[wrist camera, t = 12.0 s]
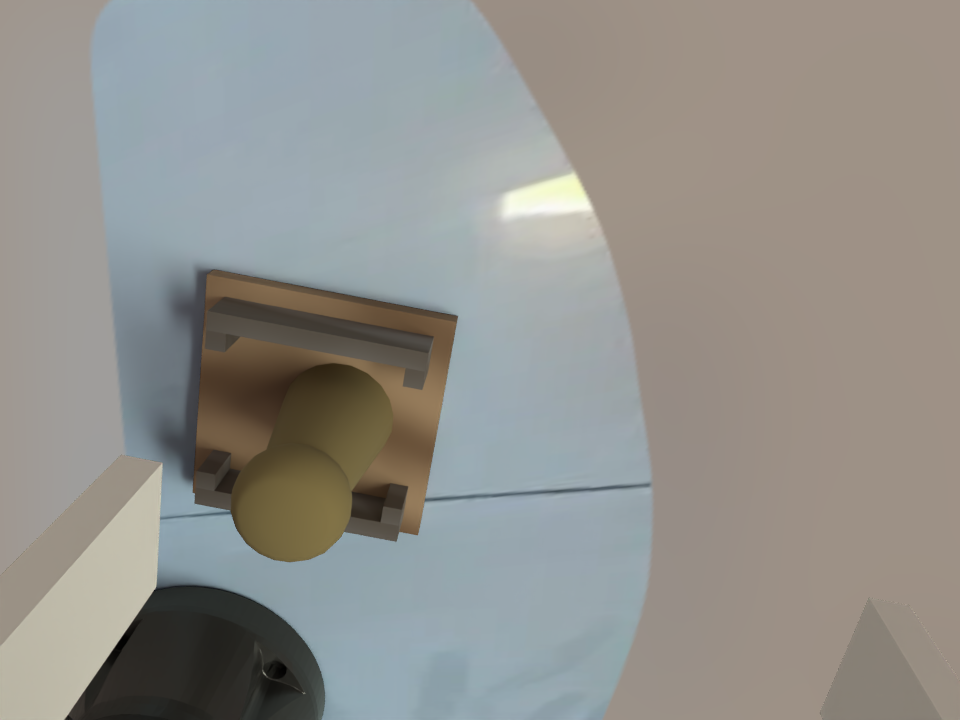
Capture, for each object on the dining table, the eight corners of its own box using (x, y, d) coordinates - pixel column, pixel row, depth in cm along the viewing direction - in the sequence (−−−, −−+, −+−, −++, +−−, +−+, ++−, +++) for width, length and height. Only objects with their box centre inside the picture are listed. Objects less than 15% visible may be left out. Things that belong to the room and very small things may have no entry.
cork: (272, 446, 46) (198, 562, 36) (295, 348, 44) (223, 441, 34) (378, 478, 46) (334, 601, 36) (406, 382, 44) (367, 484, 34)
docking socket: (420, 525, 49) (411, 560, 45) (199, 484, 48) (175, 516, 45) (457, 316, 44) (452, 338, 41) (213, 269, 44) (188, 287, 41)
